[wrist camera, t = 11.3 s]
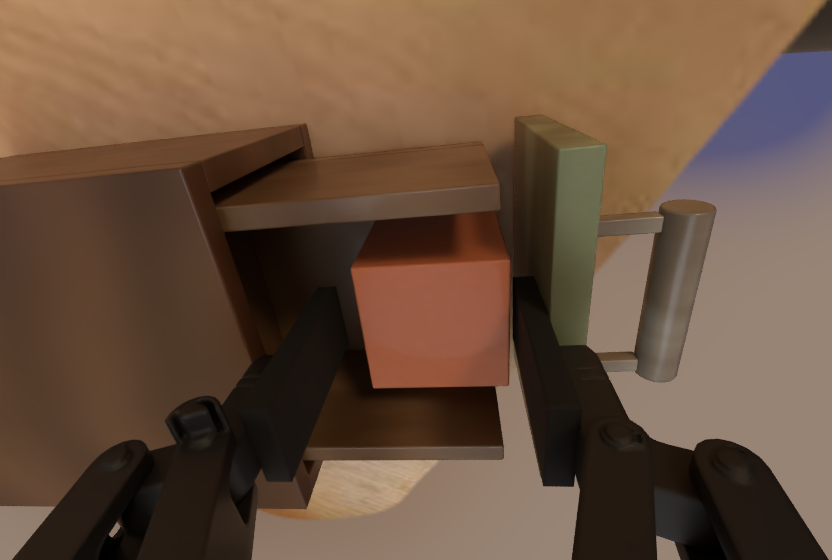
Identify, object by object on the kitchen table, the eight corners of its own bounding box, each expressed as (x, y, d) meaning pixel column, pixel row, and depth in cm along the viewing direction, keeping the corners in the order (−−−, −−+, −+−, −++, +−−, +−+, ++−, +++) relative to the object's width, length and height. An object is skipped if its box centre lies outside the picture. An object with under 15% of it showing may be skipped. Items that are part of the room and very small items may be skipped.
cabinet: (306, 123, 19) (181, 167, 10) (357, 358, 25) (307, 510, 16) (13, 155, 21) (-305, 216, 12) (128, 366, 27) (-26, 506, 18)
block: (495, 209, 18) (511, 259, 13) (495, 312, 20) (509, 386, 15) (376, 217, 18) (349, 268, 14) (390, 316, 21) (372, 389, 16)
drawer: (659, 102, 16) (814, 124, 9) (620, 350, 22) (699, 479, 15) (221, 148, 19) (82, 193, 12) (289, 362, 24) (223, 479, 17)
